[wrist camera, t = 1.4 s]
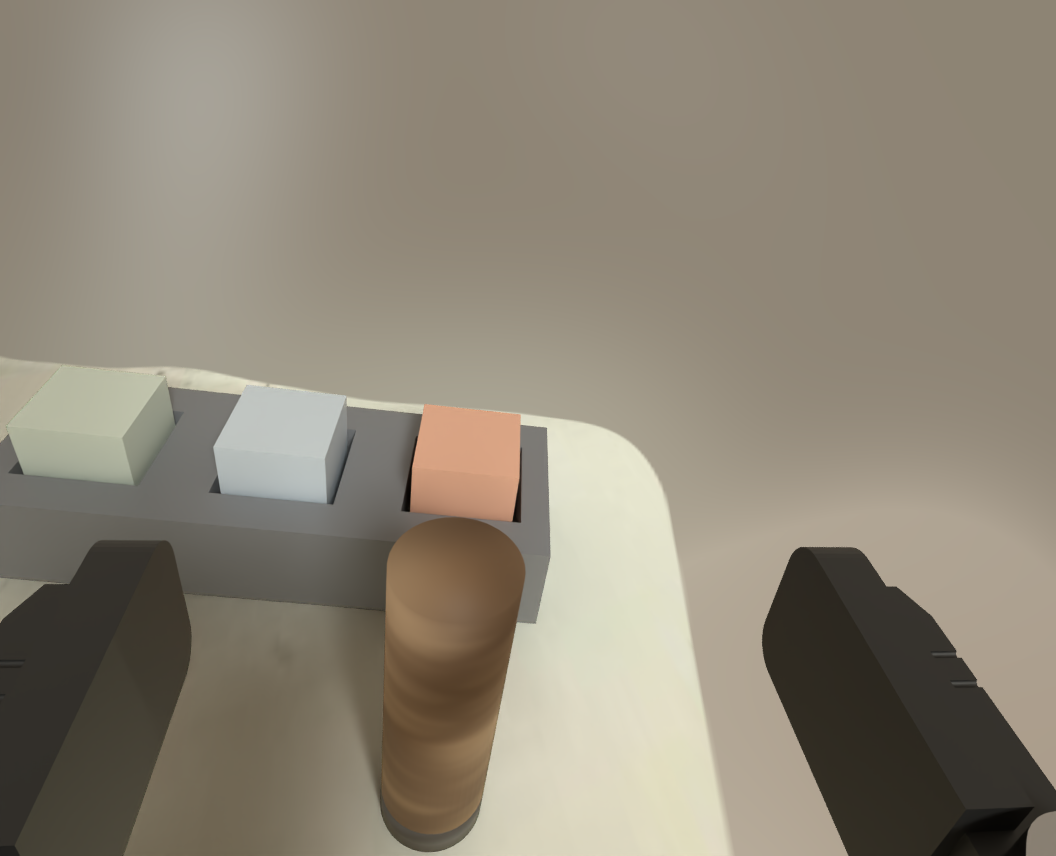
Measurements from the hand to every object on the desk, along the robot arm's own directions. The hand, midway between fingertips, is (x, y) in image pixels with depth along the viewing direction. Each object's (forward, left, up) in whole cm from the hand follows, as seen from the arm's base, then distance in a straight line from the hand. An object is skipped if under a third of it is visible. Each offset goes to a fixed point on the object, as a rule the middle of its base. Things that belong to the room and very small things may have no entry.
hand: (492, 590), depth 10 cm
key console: (-10, +22, -23) cm, 33 cm away
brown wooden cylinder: (0, +8, -23) cm, 24 cm away
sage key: (-18, +22, -20) cm, 35 cm away
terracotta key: (0, +22, -20) cm, 30 cm away
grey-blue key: (-10, +22, -20) cm, 31 cm away
